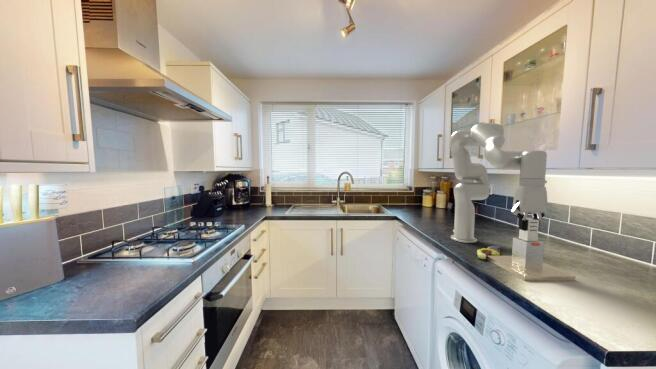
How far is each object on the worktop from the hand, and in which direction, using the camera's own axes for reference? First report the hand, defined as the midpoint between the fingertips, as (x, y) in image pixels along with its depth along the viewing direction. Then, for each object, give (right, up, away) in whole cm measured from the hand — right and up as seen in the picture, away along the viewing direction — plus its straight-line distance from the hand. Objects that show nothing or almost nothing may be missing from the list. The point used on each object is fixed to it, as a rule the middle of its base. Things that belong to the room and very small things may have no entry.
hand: (528, 229), depth 93 cm
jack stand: (0, -16, +1) cm, 16 cm away
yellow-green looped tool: (-2, -15, +17) cm, 23 cm away
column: (0, -11, +1) cm, 10 cm away
